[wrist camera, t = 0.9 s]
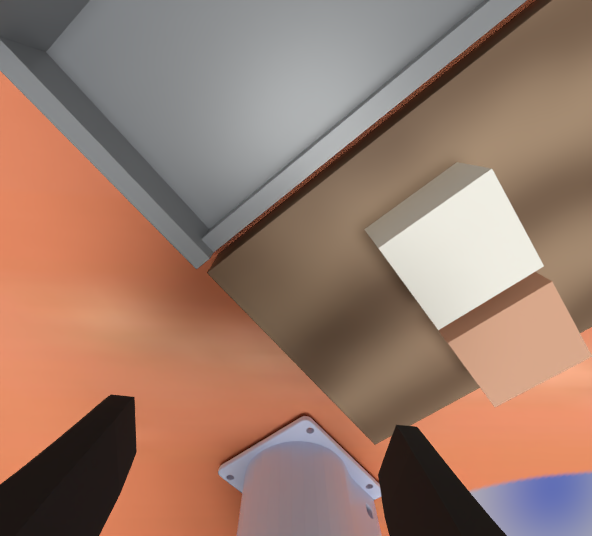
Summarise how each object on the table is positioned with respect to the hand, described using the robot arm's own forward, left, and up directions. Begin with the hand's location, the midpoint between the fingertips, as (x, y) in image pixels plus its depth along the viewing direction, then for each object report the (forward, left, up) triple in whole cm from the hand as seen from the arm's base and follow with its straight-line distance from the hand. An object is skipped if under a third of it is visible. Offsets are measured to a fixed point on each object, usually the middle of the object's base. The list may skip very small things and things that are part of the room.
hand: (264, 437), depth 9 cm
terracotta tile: (-7, -8, -7) cm, 13 cm away
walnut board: (-4, -8, -10) cm, 13 cm away
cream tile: (-2, -8, -7) cm, 11 cm away
